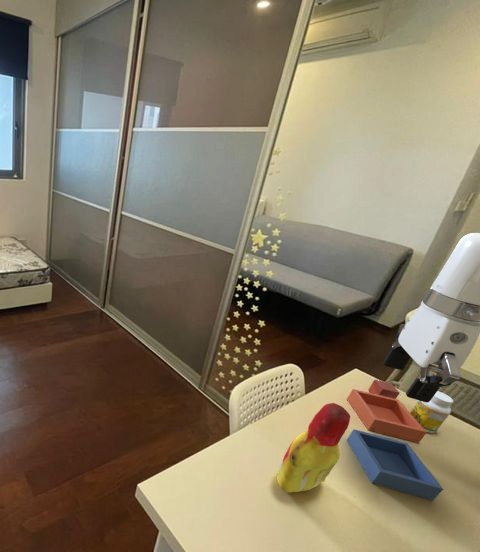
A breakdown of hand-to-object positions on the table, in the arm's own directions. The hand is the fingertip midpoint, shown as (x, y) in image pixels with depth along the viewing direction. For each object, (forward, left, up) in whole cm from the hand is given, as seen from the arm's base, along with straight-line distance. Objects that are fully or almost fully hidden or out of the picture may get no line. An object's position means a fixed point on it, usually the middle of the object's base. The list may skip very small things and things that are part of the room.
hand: (403, 381), depth 62 cm
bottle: (+16, +11, -21) cm, 29 cm away
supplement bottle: (-22, -17, -21) cm, 35 cm away
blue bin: (-5, +1, -21) cm, 22 cm away
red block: (-17, -25, -21) cm, 37 cm away
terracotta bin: (-12, -15, -21) cm, 29 cm away
